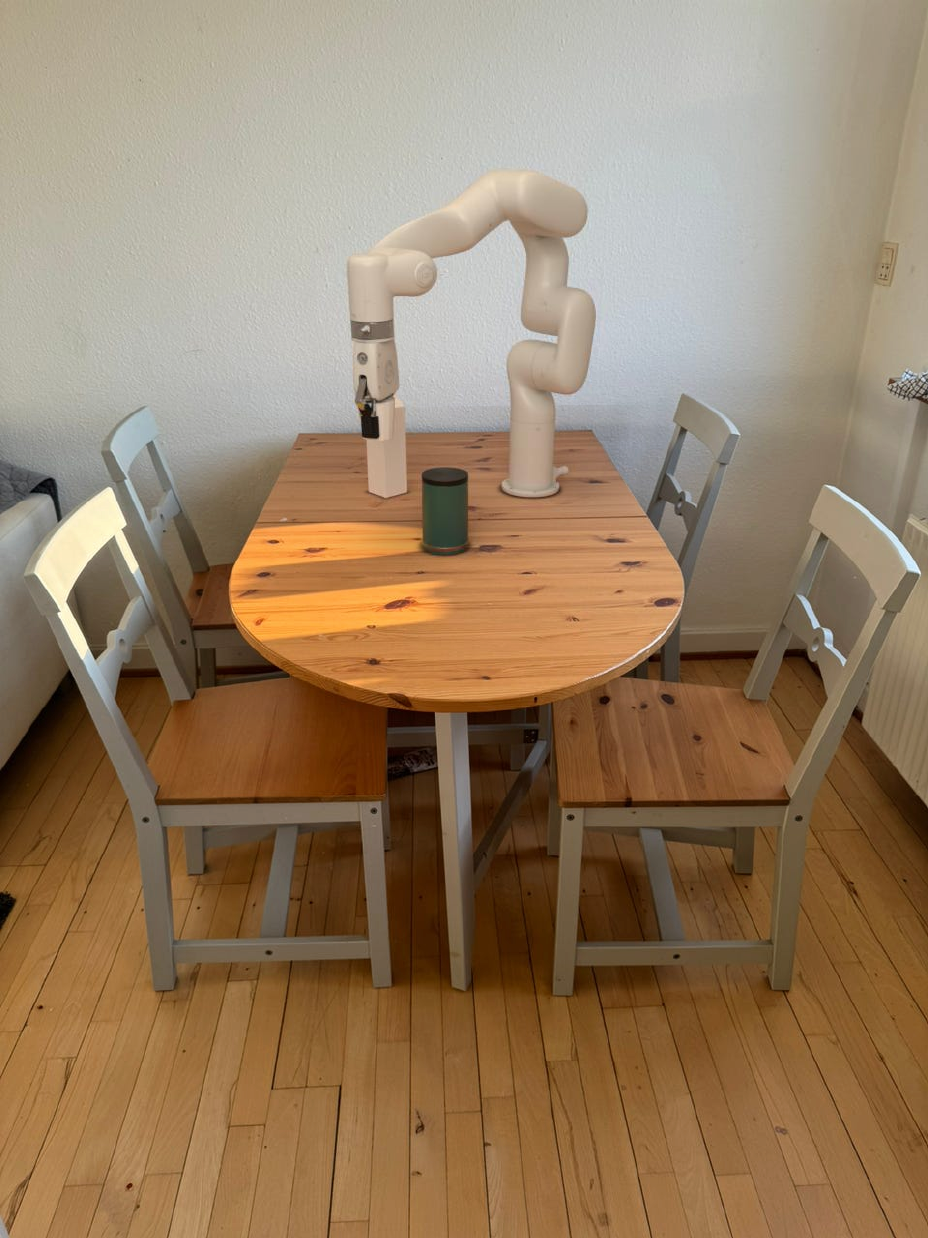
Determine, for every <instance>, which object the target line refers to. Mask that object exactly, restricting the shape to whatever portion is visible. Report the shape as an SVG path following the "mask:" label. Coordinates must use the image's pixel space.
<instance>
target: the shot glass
mask: <svg viewBox="0 0 928 1238" xmlns="http://www.w3.org/2000/svg"><path fill="white" fill-rule="evenodd" d="M365 398H372V396H371V395H367V396H365ZM366 403H367V404H369V405H370V407H371V405H372V402H366ZM376 409H377V411H376V416H378V418H379V438H378V439H372V438H363V437H362V439H363V440H370V441H384V440H389V439H391V438H393V435H394V415H395V398H394V397H393V396H388V397H386V398H385V399H383V400H381V401H378V400H377V403H376ZM357 410H358V411H357V412H359V409H358V408H357ZM358 418H359V423H360V424H359V425H360V426H361V416H360V415H359V414H358ZM360 430H361V429H360ZM361 432H362V430H361Z"/></svg>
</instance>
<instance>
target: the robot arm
mask: <svg viewBox="0 0 928 1238" xmlns="http://www.w3.org/2000/svg"><path fill="white" fill-rule="evenodd" d="M588 209H589V208H588V204H587V200H586V199H585V197H584V195H583V194H582V193H581V192H580V191H579V190H578V189H577V188H574V187H573V186H570V185H568V184H566V183H563V182H562V181H559V180H557V179H554V178H553V177H550V176H548V175H546V174H543V173H540V172H538V171H535V170H531V169H505V168H504V169H502V168H501V169H500V168H499V169H492V170H490V171H488V172H486V173H485V174H483V175H481V176H480V177H479V178H477V180H475V181H474V182H473V183H472V184H470V185H469V186H468V187H467V188H465V189H464V190H463V191H462V192H460V193H459V194H458V195H457V196H456V197H454V198H453V199H452V200H450V201H448V203H446V204H445V205H444V206H443V207H441V208H438V209H436V210H434V211H431V212H429V213H427V214H425V215H422V216H420V217H418V218H416V219H413V220H411V221H409V222H407V223H405V224H403V225H401V226H399V227H397V228H396V229H394V230H393V231H391V232H390V233H388V234H386V235H385V236H384V237H383V238H382V239H381V240H379V241H378V242H377V243H375V244H374V245H373V246H372V247H371V248H370V250H369V251H368V252H364V253H363V252H361V253H356V254H353V255H350V256H349V257H348V259H347V262H346V276H347V291H348V306H349V307H348V309H349V323H350V324H349V326H350V339H351V341H352V342H353V347H352V379H353V391H354V396H355V397H354V404H355V405H356V407H357V410H358V409H359V411H358V416H359V415H360V416H361V425H360V430H362V431H361V437H362V439H363V438H372V439H378V438H379V418H378V416H376V411H377V409H376V403H377V400H378V401H381V400H383V399H385V398H386V397H388V396H393V394H394V393H395V392H396V393H397V391H398V390H399V389H400V374H399V363H398V353H397V347H396V346H397V345H396V340H395V314H394V313H395V311H394V298H395V297H421V296H423V295H425V294H427V293H428V292H430V291H431V290H432V288H434V286H435V284H436V282H437V278H438V269H437V265H436V262H435V261H434V260H433V259H436V258H443V257H449V256H453V255H458V254H461V253H465V252H467V251H470V250H471V249H473V248H474V247H475V246H477V244H479V243H480V242H481V241H483V239H484V238H485V237H487V236H488V235H490V234H491V232H493V231H494V230H495V229H497V228H498V227H499V226H500V225H501V224H503V223H504V222H507V221H509V223H510V226H511V227H512V228H513V229H514V231H515V232H516V234H517V236H518V237H519V239H520V240H521V243H522V245H523V248H524V253H525V257H526V258H525V260H526V262H525V273H524V282H523V290H522V298H521V304H520V305H521V306H520V321H521V322H520V323H521V324H522V326H523V328H525V329H526V330H528V331H530V332H532V333H536V334H542V335H547V336H553V337H557V340H556V341H557V342H556V343H555V342H551V341H545V340H540V339H524V340H520V341H518V342H516V343H515V344H514V345H513V346H512V347H511V348H510V350H509V351H508V353H507V354H508V355H507V357H506V375H507V379H508V380H507V381H508V386H509V395H510V398H509V399H510V400H509V401H510V413H509V414H510V417H509V447H508V449H509V453H508V454H509V456H508V478H506V479H504V480H502V482H501V485H500V487H501V490H502V491H503V492H504V493H506V494H508V495H510V496H514V497H518V498H519V497H520V498H545V497H549V496H553V495H555V494H557V493H558V492H559V490H560V483H559V482H558V481H557V479H558V478H559V477H562V476H566V475H568V474H569V473H570V472H569V471H570V470H569V468H568V466H567V465H563V466H558V467H556V465H554V452H555V431H556V415H557V414H556V411H557V410H556V403H555V399H554V396H553V393H554V394H559V395H567V396H568V395H569V396H570V395H574V394H576V393H577V392H578V391H579V390H581V388H582V387H583V385H584V384H585V381H586V379H587V377H588V376H587V375H588V371H589V368H590V367H589V366H590V361H591V353H592V347H593V341H594V335H595V328H596V322H597V321H596V320H597V311H596V305H595V302H594V299H593V297H592V296H591V294H590V293H588V291H586V290H584V289H581V288H578V287H571V286H568V277H569V266H570V258H569V257H570V256H569V251H568V247H567V245H566V241H565V240H564V239H568V238H572V237H575V236H576V235H578V234H580V232H581V231H582V230H583V229H584V227H585V226H586V223H587V220H588V215H589V214H588V213H589V210H588ZM367 395H371V396H372V398H365V396H367ZM366 402H372V405H371V407H370V405H369V404H367V403H366Z"/></svg>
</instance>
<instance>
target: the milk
mask: <svg viewBox="0 0 928 1238" xmlns="http://www.w3.org/2000/svg"><path fill="white" fill-rule="evenodd" d="M393 397H394V398H395V415H394V435H393V438H391V439H389V440H384V441H370V440H366V462H367V483H368V486H367V487H368V493H371V494H373V495H376V496H379V497H381V498H384V499H388V498H392V497H395V496H399V495H403V494H407V493H408V481H407V480H408V479H407V475H408V473H407V446H406V445H407V441H406V439H407V437H406V435H407V434H406V405H405V404H404V403H403V401H401V400H400V398H399V397H398V396H397V391H396V392H395V393H394V394H393Z"/></svg>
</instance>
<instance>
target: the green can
mask: <svg viewBox="0 0 928 1238" xmlns="http://www.w3.org/2000/svg"><path fill="white" fill-rule="evenodd" d="M421 517H422V519H421V521H422V523H421V524H422V527H421V528H422V541H421V542H422V549H423V550H424V551H425V552H426V553H429V554H433V555H438V556H453V555H458V554H462V553H463V552H465V551H467V550H468V548H469V473H468V471H466V470H464V469H461V468H459V467H458V468H457V467H450V466H449V467H448V466H447V467H445V466H444V467H433V468H427V469H426V470H424V471H422V472H421Z"/></svg>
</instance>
